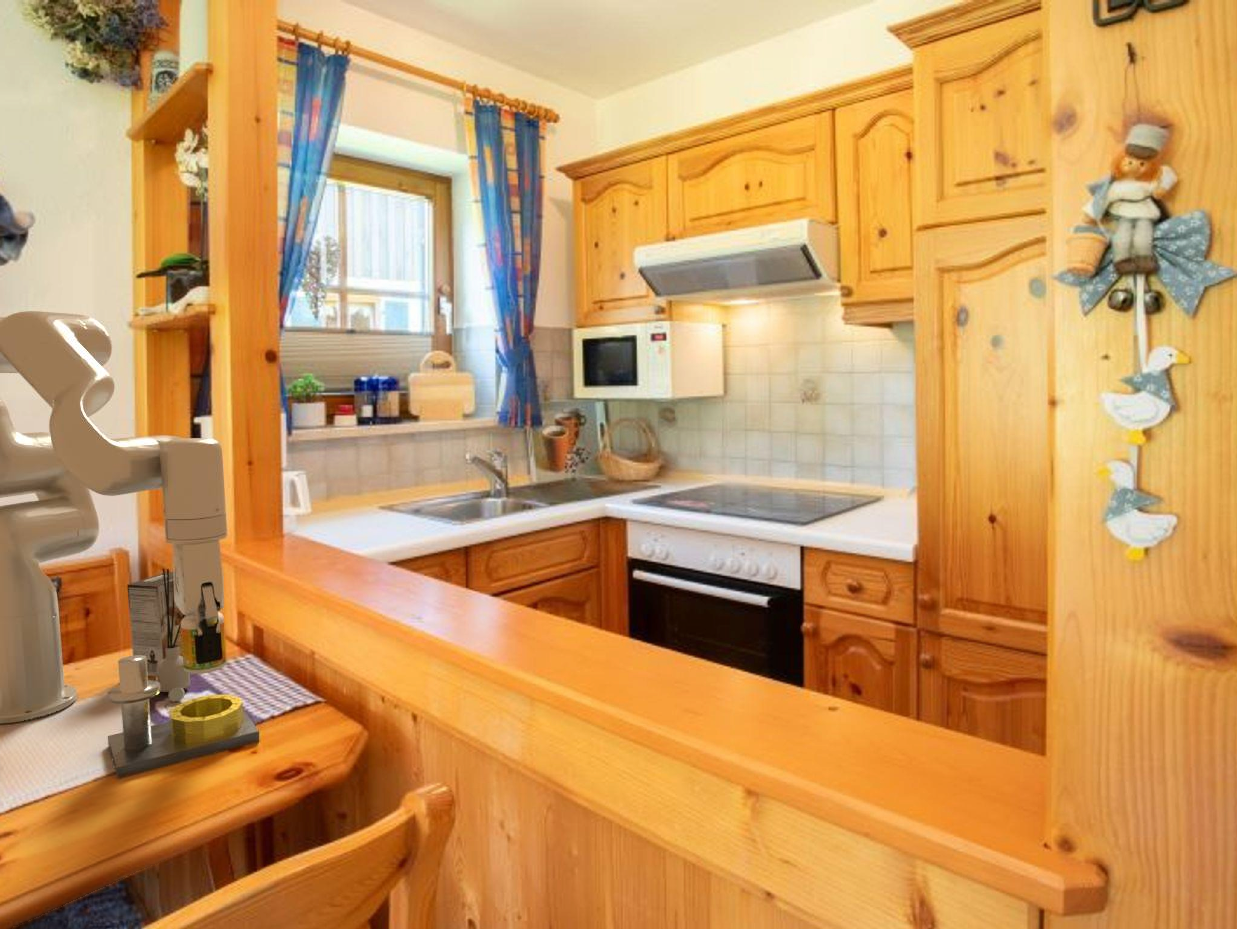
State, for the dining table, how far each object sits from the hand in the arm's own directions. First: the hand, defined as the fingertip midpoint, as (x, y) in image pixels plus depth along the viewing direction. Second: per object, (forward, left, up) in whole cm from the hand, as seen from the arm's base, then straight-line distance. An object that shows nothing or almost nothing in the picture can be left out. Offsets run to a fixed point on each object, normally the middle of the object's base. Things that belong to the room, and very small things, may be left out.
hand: (204, 653), depth 110 cm
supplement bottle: (0, 0, -2) cm, 2 cm away
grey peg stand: (0, -3, -12) cm, 13 cm away
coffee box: (-34, 0, -13) cm, 36 cm away
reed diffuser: (-21, 0, -13) cm, 25 cm away
